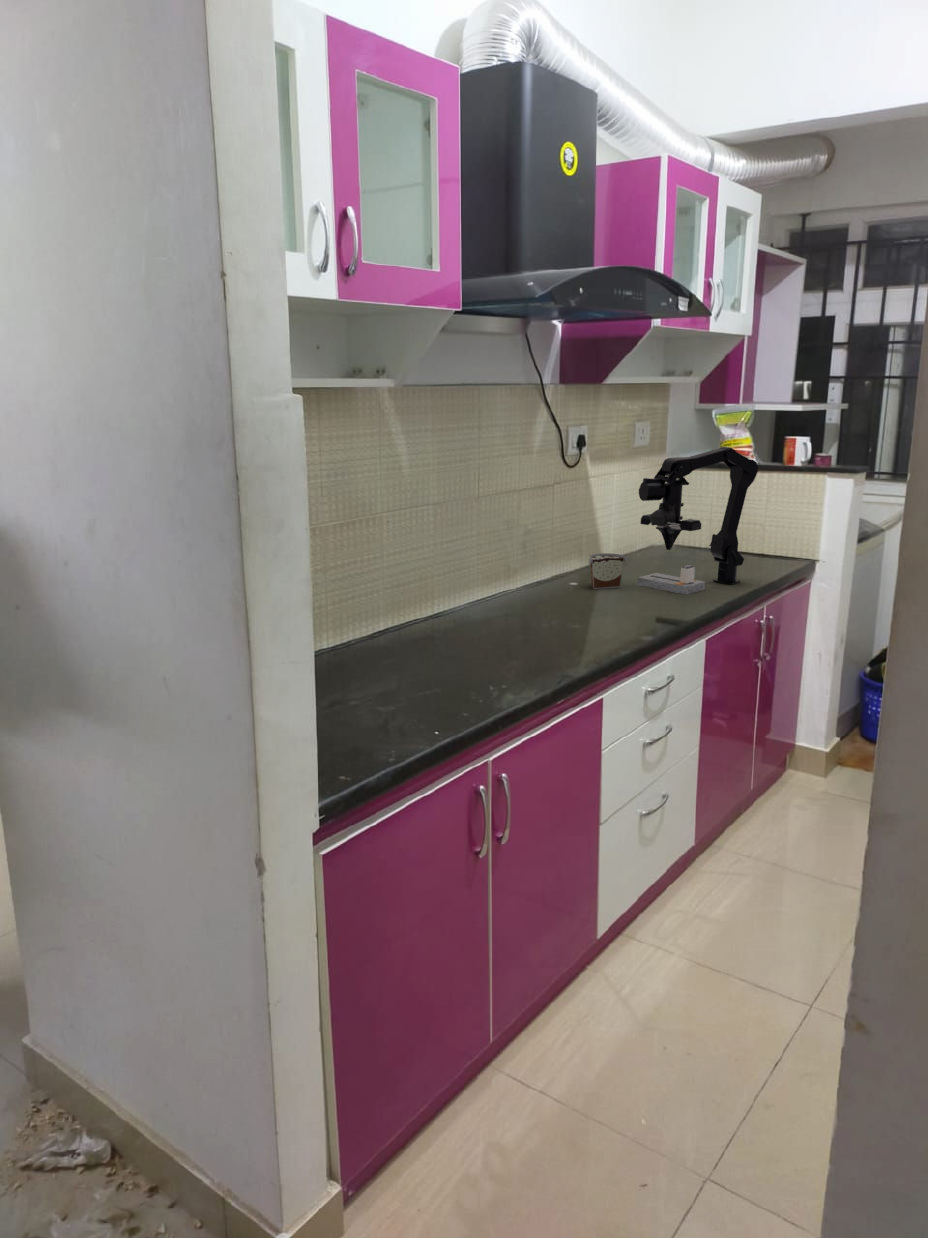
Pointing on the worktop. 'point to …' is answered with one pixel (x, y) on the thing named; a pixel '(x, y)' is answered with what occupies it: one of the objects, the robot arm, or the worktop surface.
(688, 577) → the fader tab
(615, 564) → the food container
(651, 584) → the console
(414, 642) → the worktop surface
